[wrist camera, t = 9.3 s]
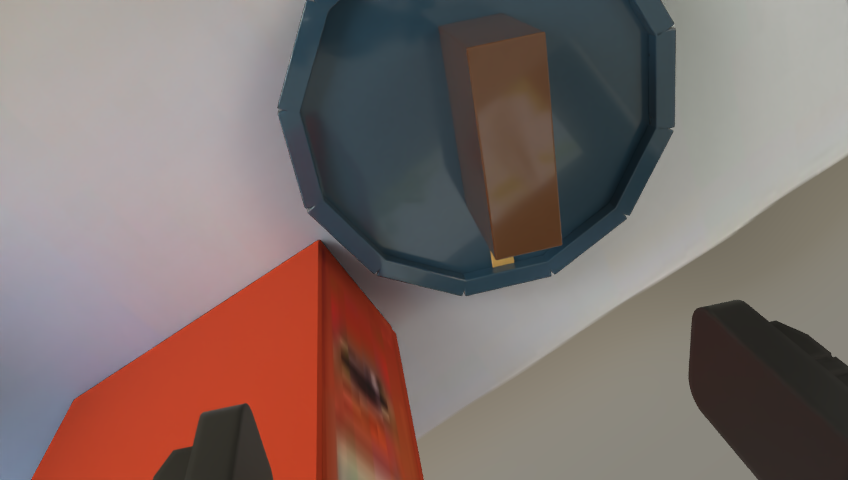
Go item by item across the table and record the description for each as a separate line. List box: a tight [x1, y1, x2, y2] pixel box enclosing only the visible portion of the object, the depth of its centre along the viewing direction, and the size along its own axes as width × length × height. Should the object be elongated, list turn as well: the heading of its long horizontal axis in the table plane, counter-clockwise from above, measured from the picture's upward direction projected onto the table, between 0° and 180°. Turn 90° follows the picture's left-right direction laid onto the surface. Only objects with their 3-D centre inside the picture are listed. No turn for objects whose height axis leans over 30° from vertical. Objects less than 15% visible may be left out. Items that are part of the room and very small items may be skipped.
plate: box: [278, 0, 676, 296], centre depth 28 cm, size 19×19×7 cm
